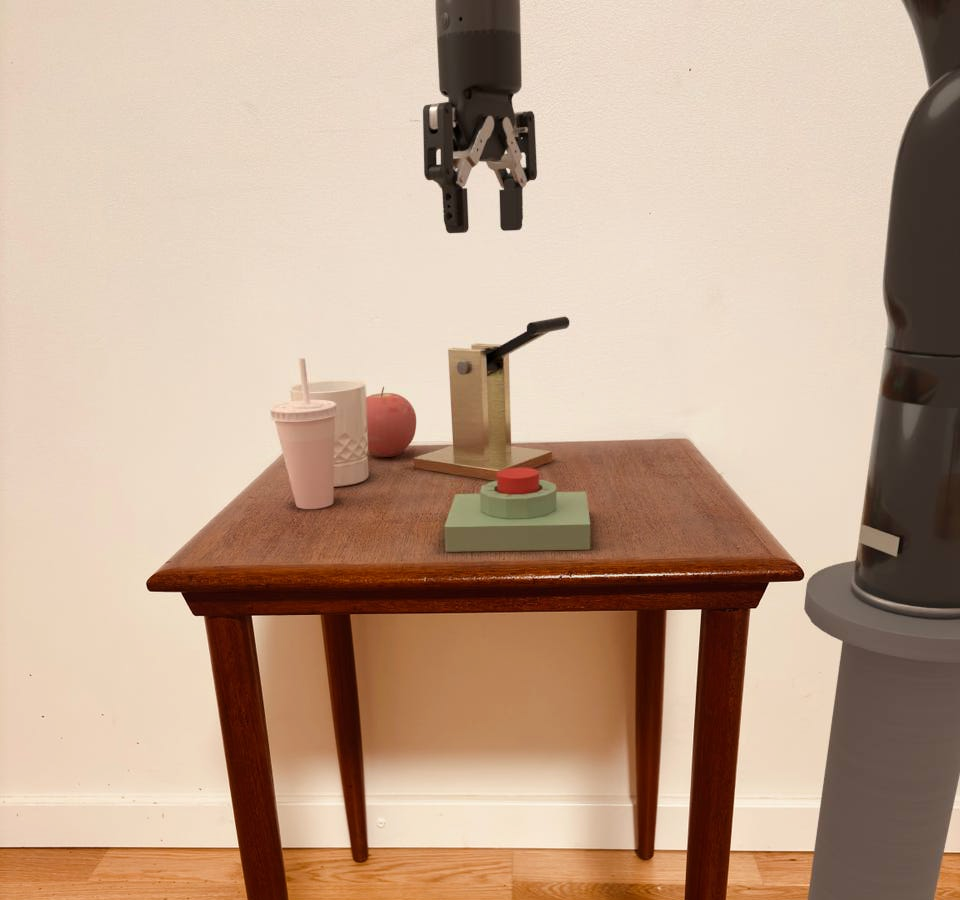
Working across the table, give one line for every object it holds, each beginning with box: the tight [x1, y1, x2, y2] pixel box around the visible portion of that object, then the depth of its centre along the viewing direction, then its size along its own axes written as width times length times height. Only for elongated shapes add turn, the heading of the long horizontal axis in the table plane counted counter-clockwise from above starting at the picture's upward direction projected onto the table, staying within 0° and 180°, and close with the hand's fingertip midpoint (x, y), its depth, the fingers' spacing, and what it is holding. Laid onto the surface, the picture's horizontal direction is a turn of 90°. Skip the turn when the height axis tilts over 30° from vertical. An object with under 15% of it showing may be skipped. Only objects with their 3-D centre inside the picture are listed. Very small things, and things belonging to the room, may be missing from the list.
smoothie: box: [269, 357, 338, 510], centre depth 89 cm, size 6×6×14 cm
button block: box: [443, 479, 591, 553], centre depth 80 cm, size 12×10×4 cm
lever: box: [483, 316, 571, 374], centre depth 96 cm, size 12×6×2 cm, turn 53°
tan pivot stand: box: [412, 342, 553, 482], centre depth 101 cm, size 12×10×13 cm
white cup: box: [289, 379, 370, 488], centre depth 98 cm, size 8×8×10 cm
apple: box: [366, 386, 417, 458], centre depth 108 cm, size 7×7×8 cm
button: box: [497, 468, 540, 495], centre depth 79 cm, size 4×4×2 cm
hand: (485, 231), depth 89 cm, fingers open, 8 cm apart
